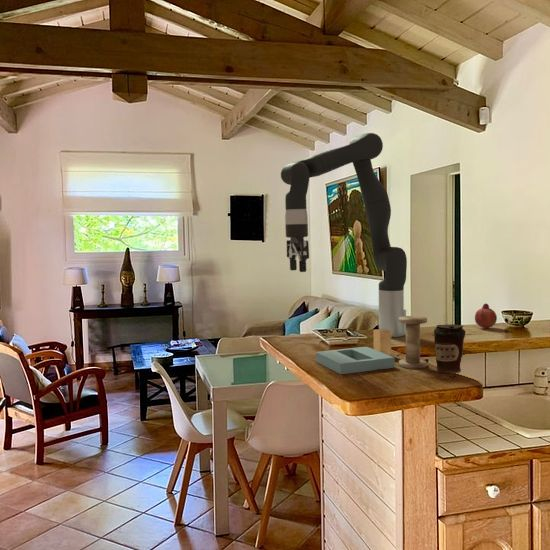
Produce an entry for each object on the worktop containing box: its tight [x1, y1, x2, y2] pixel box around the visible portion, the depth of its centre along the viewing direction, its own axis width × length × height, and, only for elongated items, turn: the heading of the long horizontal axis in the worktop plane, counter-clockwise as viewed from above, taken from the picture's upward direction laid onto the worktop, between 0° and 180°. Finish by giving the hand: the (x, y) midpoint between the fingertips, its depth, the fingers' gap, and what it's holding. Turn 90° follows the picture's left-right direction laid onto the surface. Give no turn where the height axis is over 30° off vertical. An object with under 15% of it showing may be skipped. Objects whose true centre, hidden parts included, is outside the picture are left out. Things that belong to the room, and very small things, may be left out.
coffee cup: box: [433, 323, 466, 374], centre depth 150 cm, size 9×8×13 cm
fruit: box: [474, 303, 498, 329], centre depth 212 cm, size 8×8×10 cm
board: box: [315, 346, 396, 375], centre depth 160 cm, size 18×16×3 cm
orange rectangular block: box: [373, 328, 392, 356], centre depth 171 cm, size 4×4×8 cm
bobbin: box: [398, 315, 428, 370], centre depth 158 cm, size 8×8×14 cm
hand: (298, 271), depth 182 cm, fingers open, 8 cm apart
